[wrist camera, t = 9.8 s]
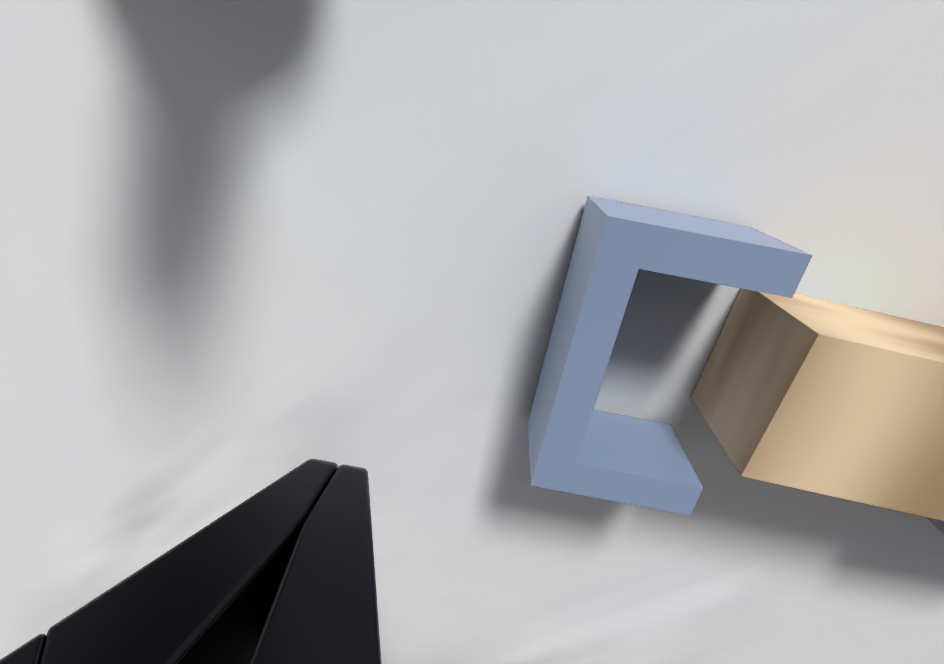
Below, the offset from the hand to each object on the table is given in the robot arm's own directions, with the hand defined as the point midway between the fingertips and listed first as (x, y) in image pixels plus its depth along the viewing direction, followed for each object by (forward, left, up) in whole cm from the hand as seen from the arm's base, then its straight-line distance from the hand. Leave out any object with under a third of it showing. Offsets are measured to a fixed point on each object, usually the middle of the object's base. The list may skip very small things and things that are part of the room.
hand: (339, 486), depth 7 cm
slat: (-14, 0, -9) cm, 16 cm away
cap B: (-6, 0, -9) cm, 10 cm away
